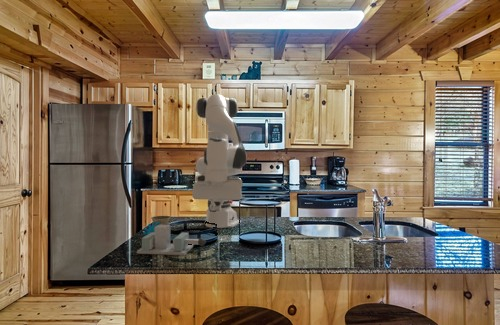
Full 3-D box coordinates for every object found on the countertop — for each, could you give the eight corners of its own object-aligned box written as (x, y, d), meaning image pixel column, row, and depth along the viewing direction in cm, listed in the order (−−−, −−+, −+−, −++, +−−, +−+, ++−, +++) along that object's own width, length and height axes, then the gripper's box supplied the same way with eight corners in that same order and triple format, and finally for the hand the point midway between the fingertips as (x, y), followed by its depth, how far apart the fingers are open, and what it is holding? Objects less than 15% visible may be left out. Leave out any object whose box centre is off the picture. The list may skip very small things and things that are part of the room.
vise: (193, 246, 141) (193, 232, 141) (184, 255, 129) (184, 240, 129) (149, 245, 143) (148, 231, 143) (136, 253, 131) (136, 238, 131)
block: (170, 245, 138) (170, 224, 138) (166, 249, 133) (166, 227, 133) (159, 245, 139) (159, 224, 139) (154, 248, 134) (154, 227, 134)
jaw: (208, 244, 139) (208, 233, 139) (202, 251, 129) (202, 239, 129) (180, 243, 140) (180, 232, 140) (172, 250, 130) (172, 238, 130)
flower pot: (150, 233, 164) (149, 216, 164) (168, 231, 168) (168, 214, 168) (152, 237, 156) (152, 219, 155) (172, 235, 160) (172, 218, 159)
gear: (138, 236, 151) (149, 219, 157) (143, 243, 155) (153, 225, 162) (159, 241, 148) (169, 223, 154) (163, 248, 152) (172, 230, 158)
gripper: (243, 176, 135) (243, 209, 135) (195, 176, 137) (195, 208, 137) (241, 177, 129) (241, 212, 129) (191, 177, 131) (191, 211, 131)
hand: (217, 210), depth 133 cm, fingers closed
